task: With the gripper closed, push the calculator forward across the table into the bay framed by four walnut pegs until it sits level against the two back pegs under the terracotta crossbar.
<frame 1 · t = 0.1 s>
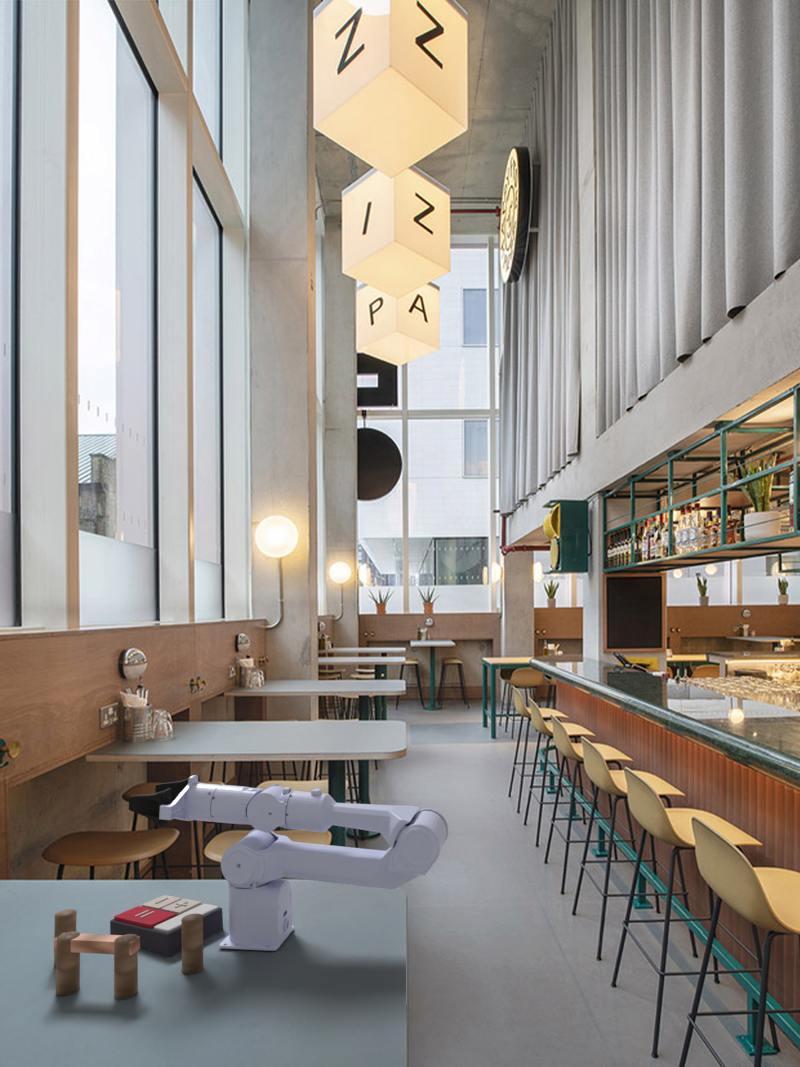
hand: (143, 796, 116), 22 cm above the table, tool horizontal, fingers open, 7 cm apart
calculator: (166, 937, 113), on the table
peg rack: (127, 965, 102), on the table
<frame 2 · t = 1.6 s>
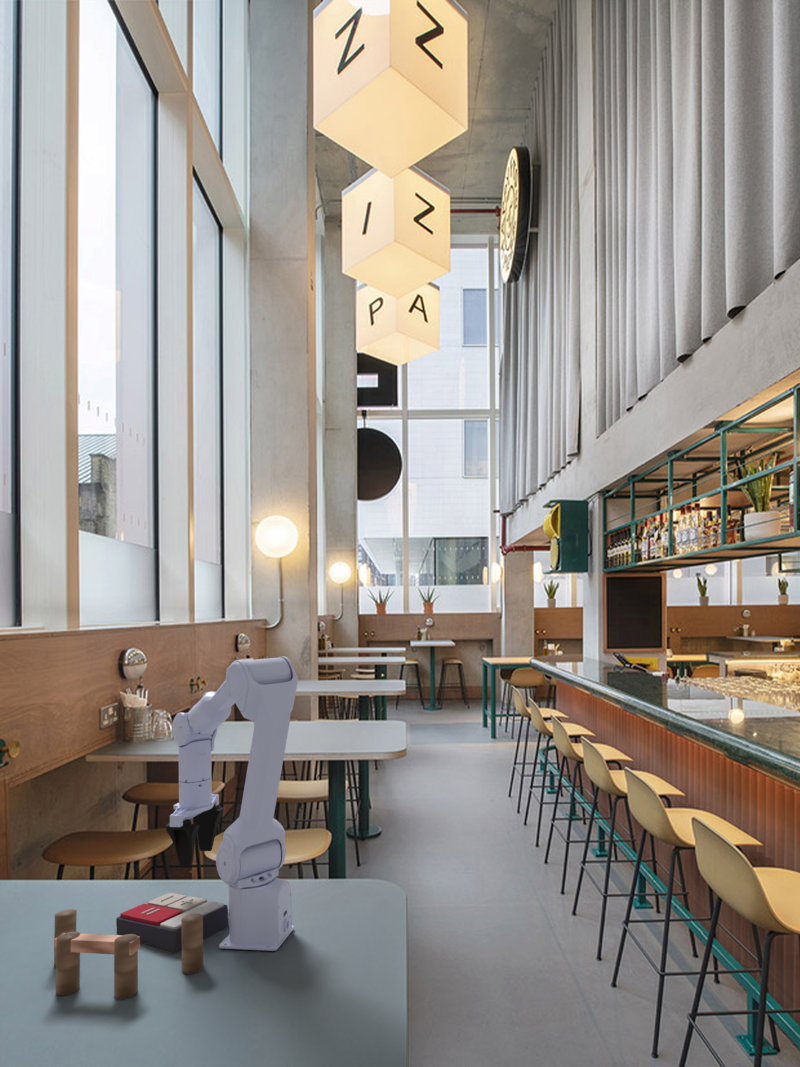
hand: (196, 857, 124), 8 cm above the table, tool pointing down, fingers open, 7 cm apart
calculator: (172, 934, 114), on the table
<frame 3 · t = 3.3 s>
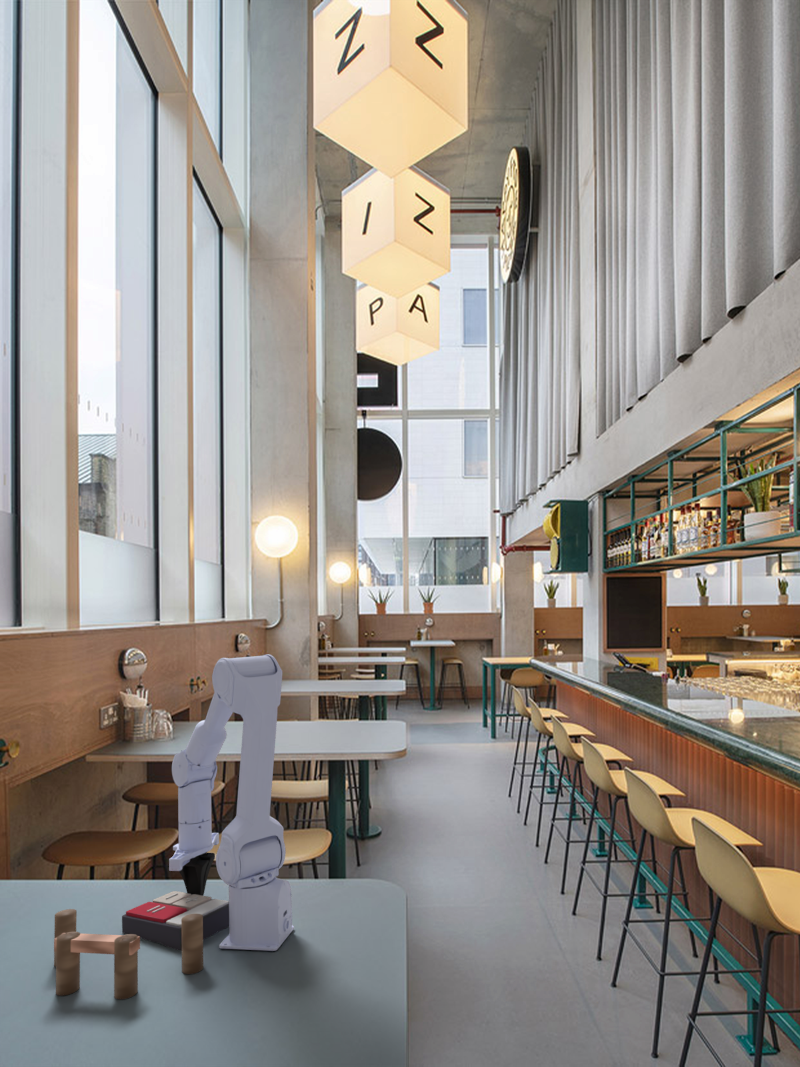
hand: (195, 899, 123), 1 cm above the table, tool pointing down, fingers closed
calculator: (177, 931, 115), on the table
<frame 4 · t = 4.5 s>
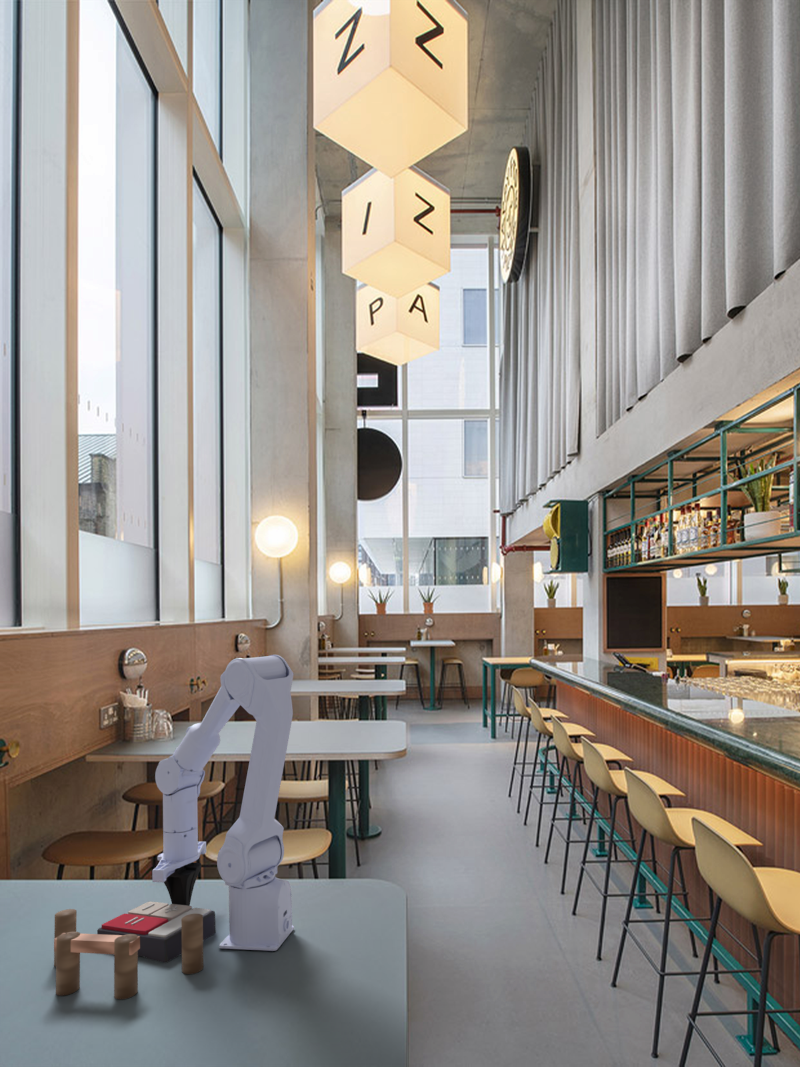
hand: (181, 911, 118), 1 cm above the table, tool pointing down, fingers closed
calculator: (157, 943, 111), on the table, touching gripper
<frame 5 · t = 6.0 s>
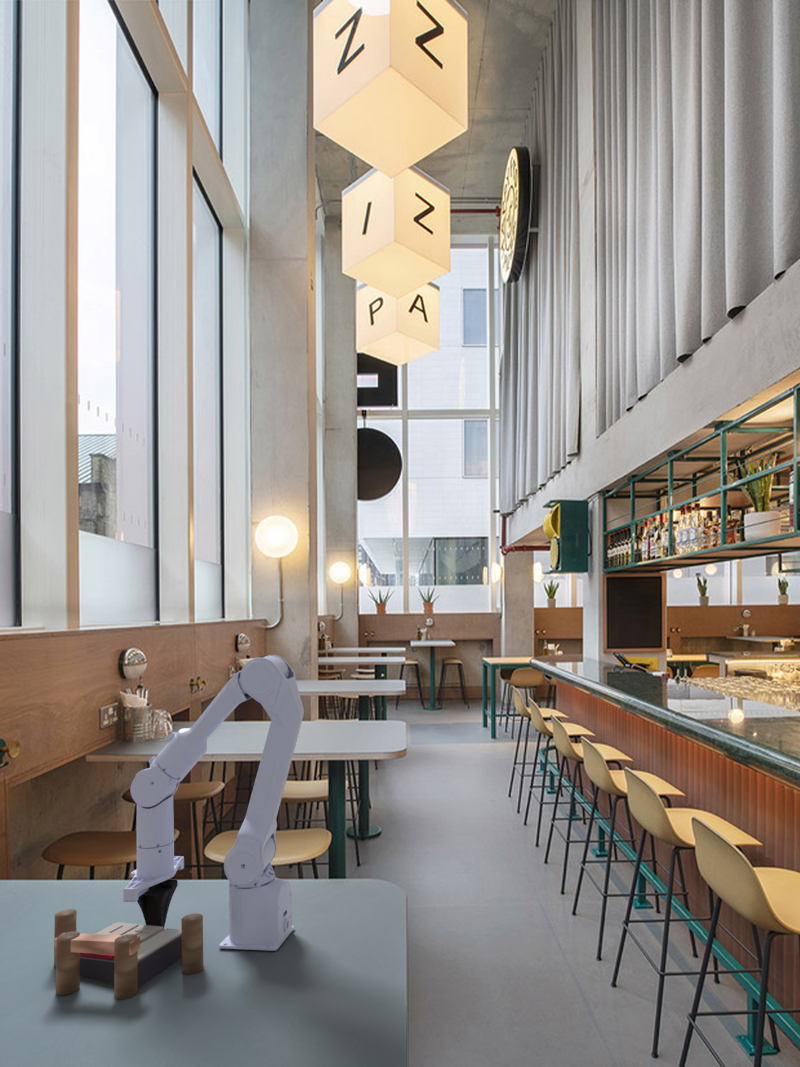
hand: (155, 932, 110), 1 cm above the table, tool pointing down, fingers closed
calculator: (126, 968, 103), on the table, touching gripper
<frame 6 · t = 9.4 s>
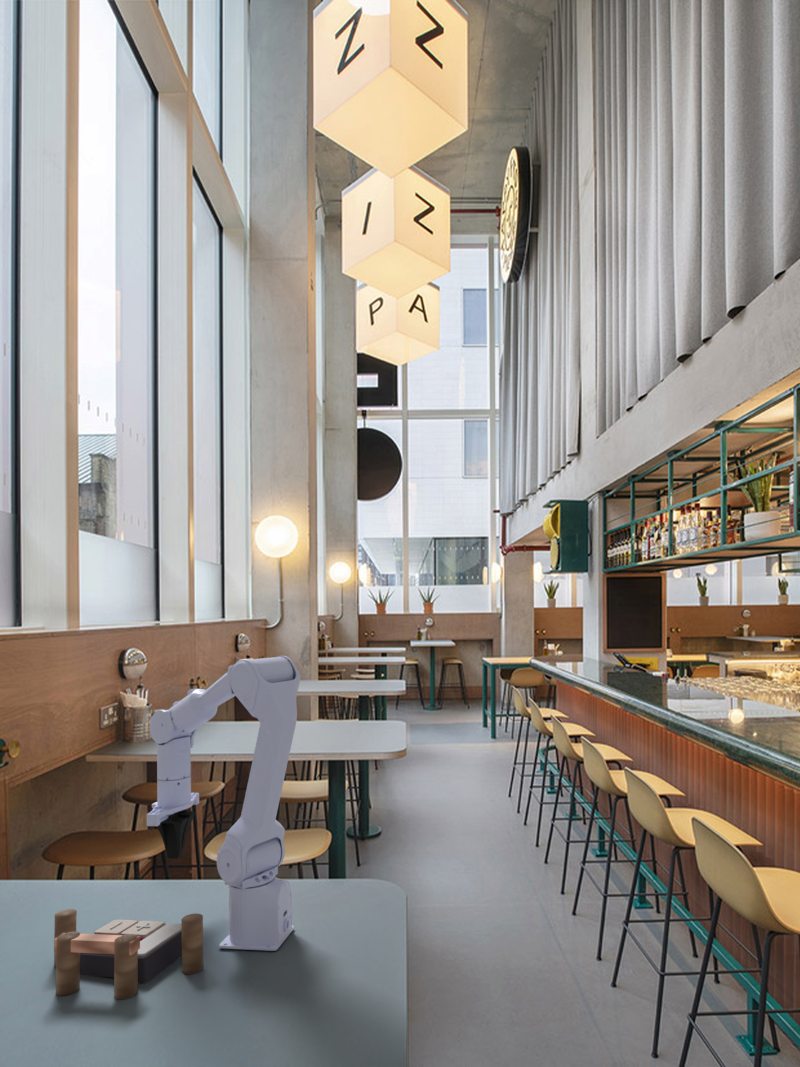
hand: (174, 857, 121), 9 cm above the table, tool pointing down, fingers closed
calculator: (129, 963, 104), on the table
at the end: calculator 1.6 cm off-centre on the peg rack, point -0.7 cm above the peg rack's base; calculator tilted 0° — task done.
